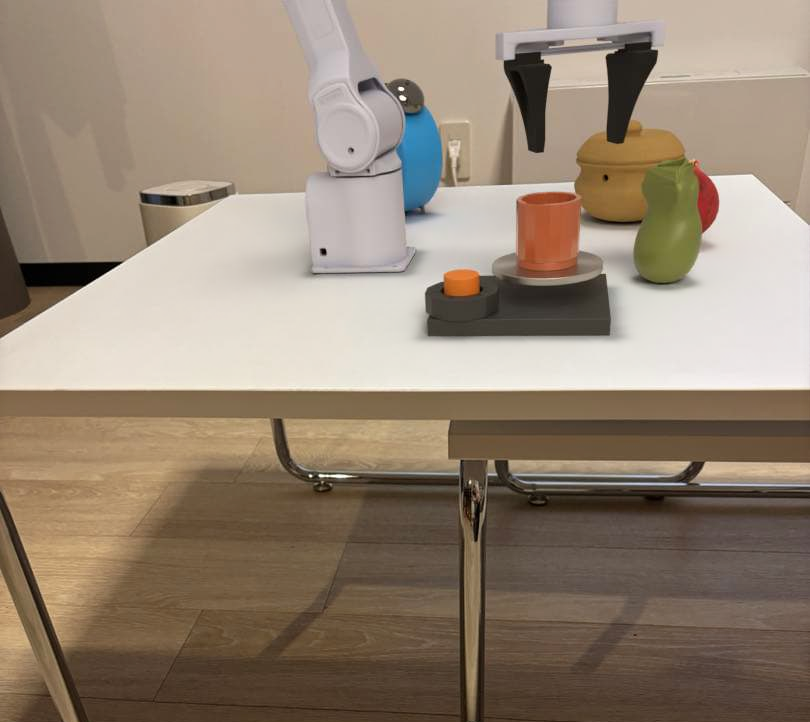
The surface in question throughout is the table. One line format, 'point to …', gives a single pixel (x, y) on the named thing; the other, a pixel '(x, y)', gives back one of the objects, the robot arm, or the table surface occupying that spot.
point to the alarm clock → (417, 146)
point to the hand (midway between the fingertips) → (575, 147)
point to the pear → (669, 223)
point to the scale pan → (580, 272)
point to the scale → (521, 309)
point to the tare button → (461, 282)
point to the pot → (622, 171)
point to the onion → (706, 198)
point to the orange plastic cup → (548, 230)
